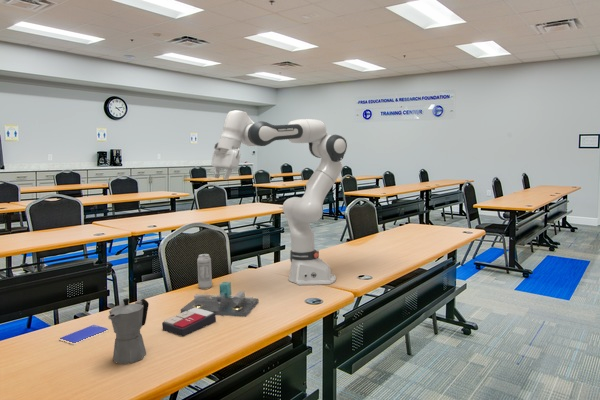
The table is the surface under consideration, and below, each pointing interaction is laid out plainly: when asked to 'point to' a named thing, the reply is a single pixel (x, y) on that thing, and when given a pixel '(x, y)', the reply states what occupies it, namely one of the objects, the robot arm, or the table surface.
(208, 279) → the energy drink can
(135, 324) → the coffeepot
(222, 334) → the table surface
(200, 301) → the hole plate
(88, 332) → the hard drive
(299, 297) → the table surface
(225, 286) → the slider
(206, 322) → the calculator
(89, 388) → the table surface
